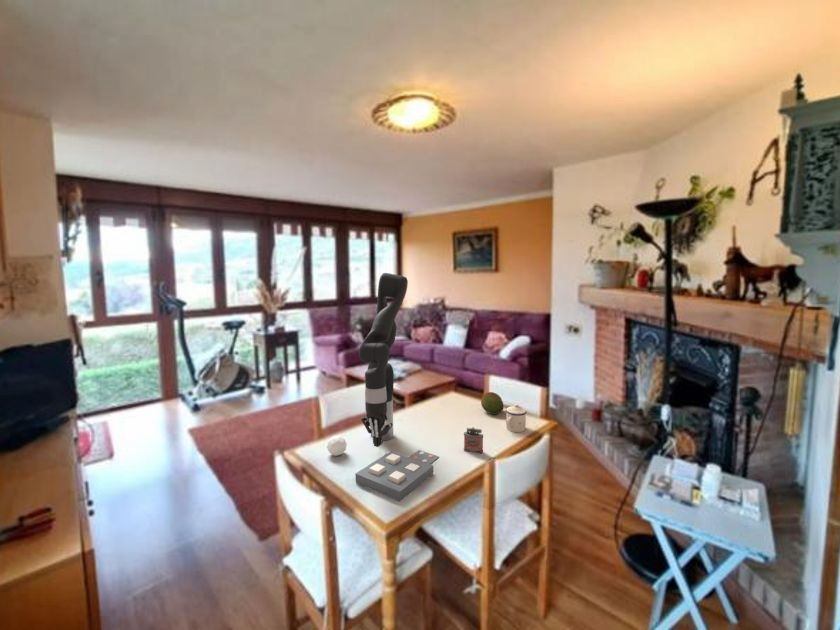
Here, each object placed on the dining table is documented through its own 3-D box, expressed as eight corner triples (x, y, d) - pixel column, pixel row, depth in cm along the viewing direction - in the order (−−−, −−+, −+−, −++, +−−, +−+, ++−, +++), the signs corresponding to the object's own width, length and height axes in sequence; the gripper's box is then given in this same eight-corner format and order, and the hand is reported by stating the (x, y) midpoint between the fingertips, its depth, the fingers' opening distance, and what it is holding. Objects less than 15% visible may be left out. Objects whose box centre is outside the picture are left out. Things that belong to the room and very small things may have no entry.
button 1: (385, 464, 151) (385, 457, 150) (392, 459, 154) (392, 453, 154) (394, 467, 148) (393, 460, 148) (400, 462, 152) (400, 456, 151)
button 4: (388, 482, 138) (388, 475, 138) (396, 477, 142) (396, 470, 141) (398, 486, 136) (397, 479, 136) (405, 481, 139) (405, 474, 139)
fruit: (491, 406, 214) (491, 388, 213) (510, 413, 204) (510, 394, 203) (476, 411, 207) (476, 393, 205) (495, 419, 197) (495, 399, 196)
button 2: (404, 474, 146) (404, 467, 145) (411, 469, 149) (411, 463, 149) (413, 477, 143) (413, 470, 143) (420, 472, 147) (420, 466, 146)
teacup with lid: (511, 422, 192) (512, 399, 191) (529, 428, 186) (530, 404, 185) (498, 431, 183) (499, 406, 182) (516, 436, 178) (517, 411, 176)
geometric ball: (340, 462, 163) (341, 453, 157) (323, 454, 164) (323, 444, 158) (349, 446, 168) (350, 436, 163) (332, 438, 169) (333, 429, 164)
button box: (355, 482, 143) (355, 473, 142) (391, 459, 159) (390, 451, 159) (400, 501, 132) (399, 491, 131) (433, 474, 148) (433, 465, 147)
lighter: (462, 451, 165) (462, 428, 163) (464, 447, 168) (465, 425, 166) (482, 454, 162) (482, 431, 160) (483, 451, 165) (484, 428, 164)
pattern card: (407, 458, 159) (407, 457, 159) (418, 450, 166) (418, 449, 166) (428, 465, 154) (428, 464, 154) (439, 457, 160) (439, 456, 160)
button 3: (369, 474, 143) (369, 468, 143) (376, 470, 147) (376, 463, 146) (377, 478, 141) (377, 471, 141) (385, 473, 144) (385, 466, 144)
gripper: (354, 398, 141) (356, 445, 143) (383, 405, 133) (385, 454, 135) (368, 392, 147) (370, 437, 149) (397, 399, 139) (398, 446, 142)
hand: (377, 445), depth 142 cm, fingers closed
